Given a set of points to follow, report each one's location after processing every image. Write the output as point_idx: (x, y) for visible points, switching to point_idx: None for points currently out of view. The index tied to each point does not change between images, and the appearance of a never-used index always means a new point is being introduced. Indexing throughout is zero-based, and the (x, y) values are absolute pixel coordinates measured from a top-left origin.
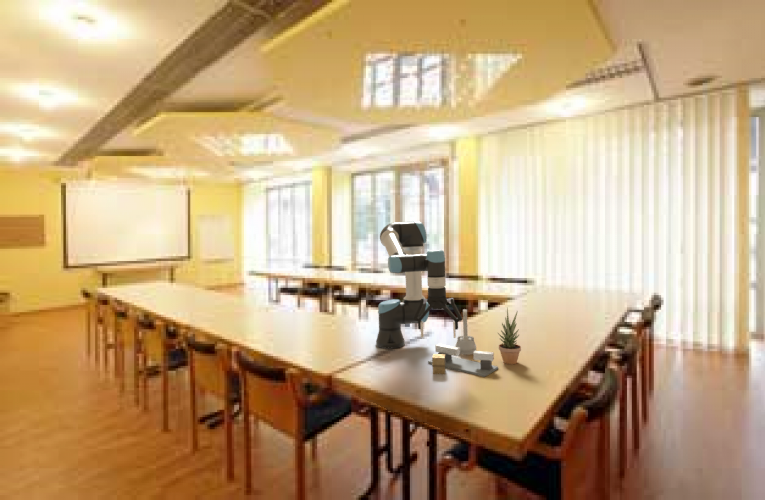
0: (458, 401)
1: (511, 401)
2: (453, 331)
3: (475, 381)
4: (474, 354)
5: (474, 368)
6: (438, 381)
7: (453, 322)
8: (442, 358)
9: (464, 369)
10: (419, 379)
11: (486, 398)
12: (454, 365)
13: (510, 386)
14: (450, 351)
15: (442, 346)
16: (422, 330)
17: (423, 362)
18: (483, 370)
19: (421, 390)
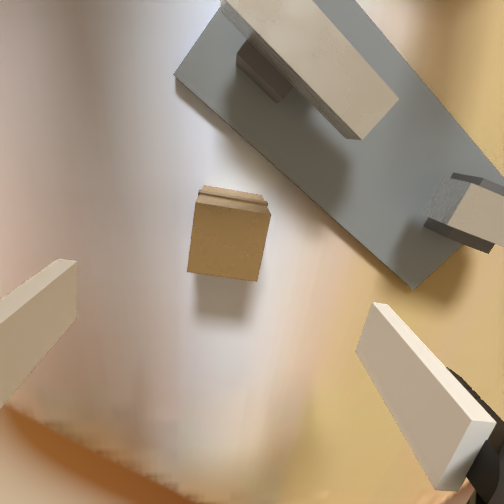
0: (264, 456)
1: (408, 453)
2: (380, 392)
3: (358, 324)
4: (445, 223)
5: (399, 215)
6: (216, 321)
7: (439, 489)
8: (246, 278)
9: (349, 225)
10: (137, 300)
11: (348, 439)
12: (315, 163)
13: (457, 366)
14: (322, 107)
15: (276, 45)
16: (38, 362)
17: (145, 48)
18: (429, 243)
19: (151, 393)
